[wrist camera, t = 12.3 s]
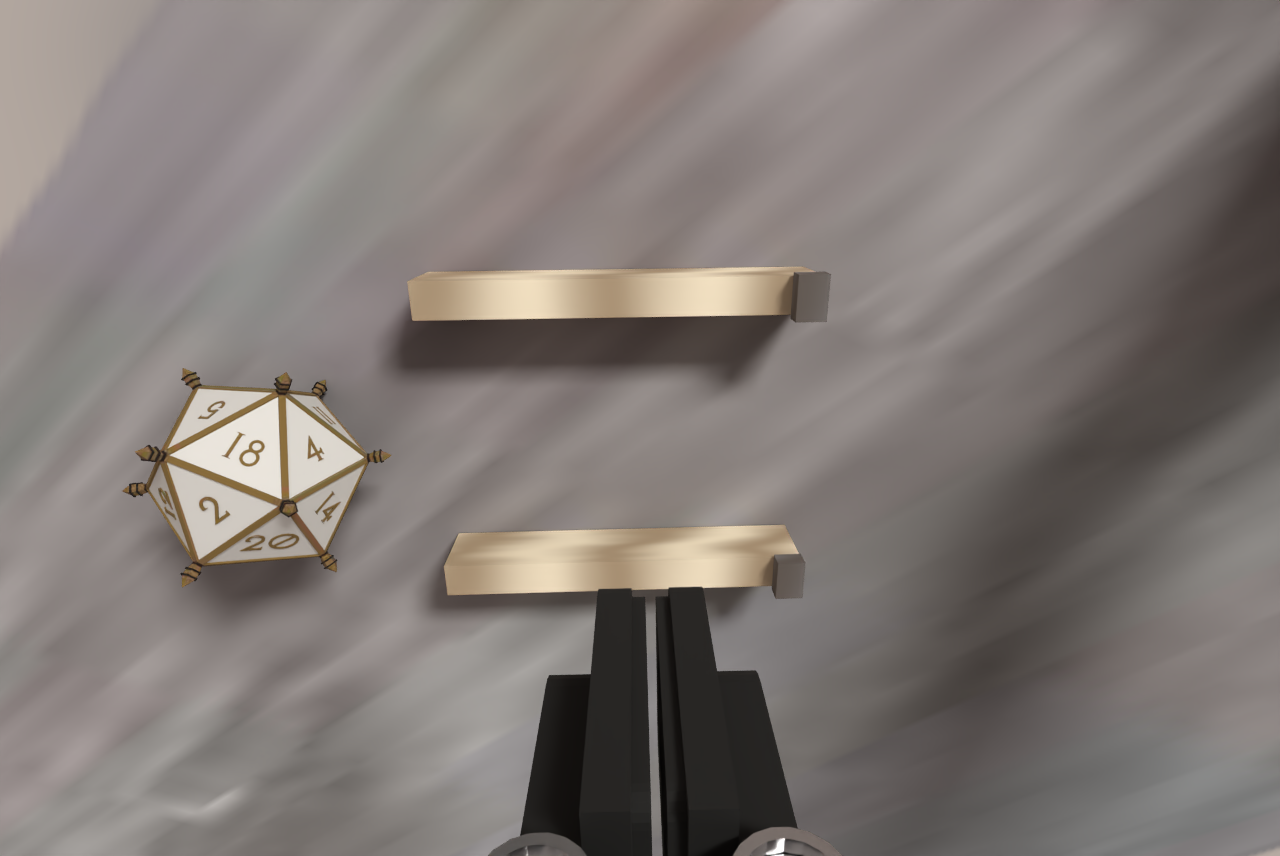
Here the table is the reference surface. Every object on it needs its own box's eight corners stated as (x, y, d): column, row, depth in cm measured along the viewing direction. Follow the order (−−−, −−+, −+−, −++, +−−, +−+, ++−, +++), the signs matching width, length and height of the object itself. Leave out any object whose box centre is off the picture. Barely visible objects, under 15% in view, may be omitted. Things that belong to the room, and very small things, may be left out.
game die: (369, 393, 34) (453, 442, 26) (296, 548, 33) (361, 643, 26) (169, 313, 28) (204, 347, 20) (75, 501, 27) (76, 607, 20)
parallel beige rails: (803, 263, 28) (830, 274, 25) (782, 553, 33) (802, 597, 30) (427, 268, 28) (400, 280, 24) (462, 562, 33) (443, 608, 29)
